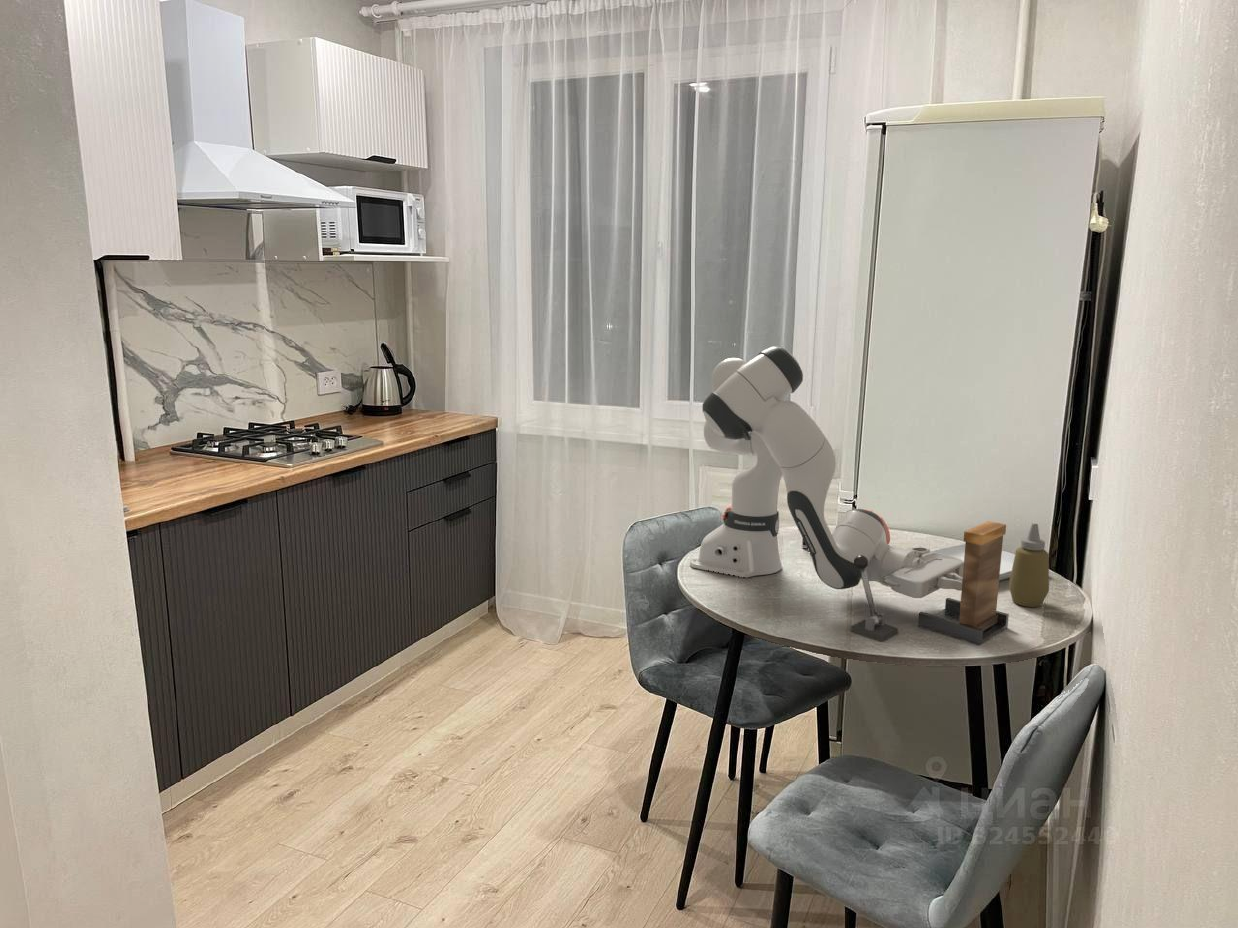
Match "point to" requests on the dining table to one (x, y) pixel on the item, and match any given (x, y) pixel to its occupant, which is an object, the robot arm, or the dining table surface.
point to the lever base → (874, 629)
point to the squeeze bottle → (1030, 571)
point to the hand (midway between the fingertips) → (965, 585)
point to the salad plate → (959, 552)
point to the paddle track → (960, 624)
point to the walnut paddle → (981, 574)
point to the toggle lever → (867, 587)
